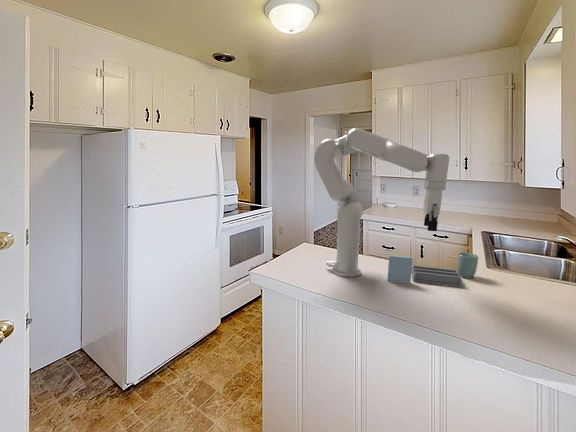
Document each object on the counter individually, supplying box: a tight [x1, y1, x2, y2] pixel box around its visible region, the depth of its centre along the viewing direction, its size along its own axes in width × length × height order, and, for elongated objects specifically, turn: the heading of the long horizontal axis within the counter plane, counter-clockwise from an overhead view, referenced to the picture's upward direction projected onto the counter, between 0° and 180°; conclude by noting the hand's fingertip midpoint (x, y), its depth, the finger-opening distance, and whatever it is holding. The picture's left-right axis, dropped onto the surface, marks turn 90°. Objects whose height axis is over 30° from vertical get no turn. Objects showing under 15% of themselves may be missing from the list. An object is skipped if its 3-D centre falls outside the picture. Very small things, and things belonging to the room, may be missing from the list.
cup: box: [456, 251, 479, 279], centre depth 138 cm, size 8×8×10 cm
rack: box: [411, 264, 463, 288], centre depth 133 cm, size 18×11×4 cm, turn 74°
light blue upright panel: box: [386, 254, 414, 285], centre depth 130 cm, size 9×2×11 cm, turn 74°
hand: (429, 228), depth 125 cm, fingers open, 9 cm apart
